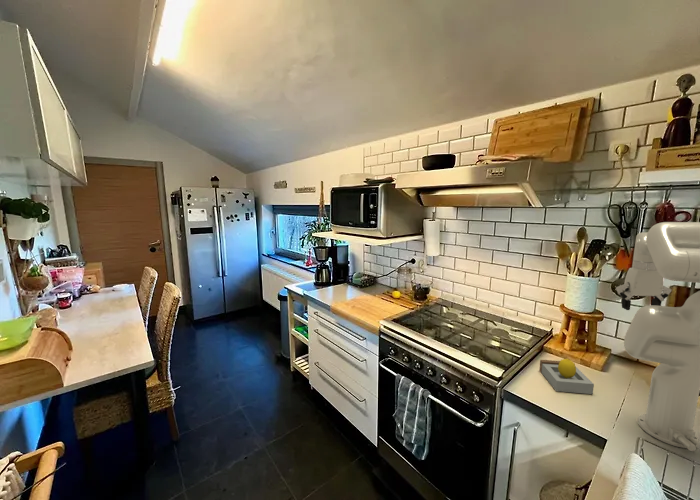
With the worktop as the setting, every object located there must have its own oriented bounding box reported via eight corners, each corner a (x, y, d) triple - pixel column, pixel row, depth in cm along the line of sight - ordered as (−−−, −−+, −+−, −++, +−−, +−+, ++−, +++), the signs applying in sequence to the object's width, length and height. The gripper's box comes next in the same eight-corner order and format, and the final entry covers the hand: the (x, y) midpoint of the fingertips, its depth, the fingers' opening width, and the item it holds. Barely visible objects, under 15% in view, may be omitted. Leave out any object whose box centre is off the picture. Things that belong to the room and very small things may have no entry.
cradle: (592, 394, 106) (593, 384, 106) (556, 391, 109) (557, 381, 108) (574, 375, 118) (575, 366, 117) (541, 372, 120) (542, 363, 120)
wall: (573, 375, 118) (575, 364, 118) (541, 372, 121) (542, 361, 120) (571, 373, 120) (572, 361, 119) (539, 370, 122) (540, 359, 121)
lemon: (578, 382, 110) (580, 362, 109) (563, 382, 110) (565, 362, 109) (568, 373, 116) (569, 355, 114) (553, 374, 116) (555, 355, 114)
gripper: (665, 263, 111) (658, 307, 114) (612, 263, 114) (607, 305, 117) (683, 268, 104) (676, 314, 106) (627, 267, 107) (621, 312, 110)
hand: (640, 309), depth 112 cm, fingers open, 9 cm apart
